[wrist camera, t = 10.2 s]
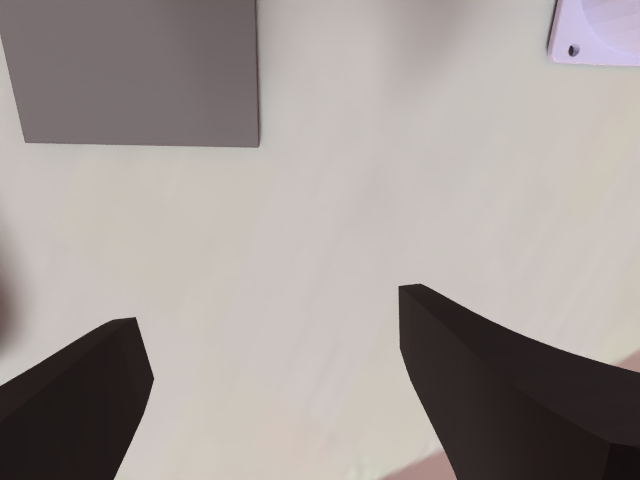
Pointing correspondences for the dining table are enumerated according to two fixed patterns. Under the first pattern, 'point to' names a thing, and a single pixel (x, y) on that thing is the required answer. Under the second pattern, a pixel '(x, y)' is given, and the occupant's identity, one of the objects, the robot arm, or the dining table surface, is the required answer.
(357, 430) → the dining table surface
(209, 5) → the mat
